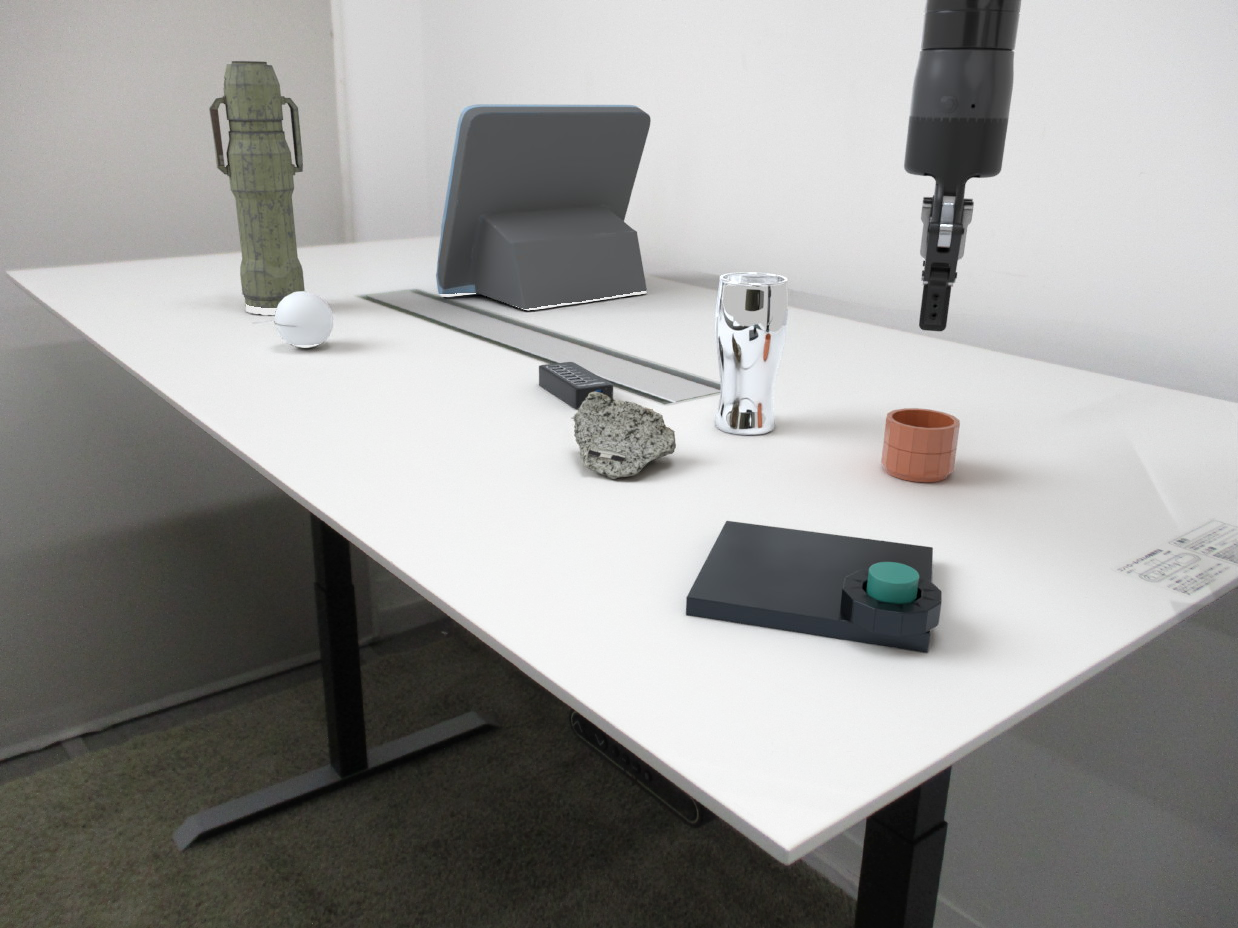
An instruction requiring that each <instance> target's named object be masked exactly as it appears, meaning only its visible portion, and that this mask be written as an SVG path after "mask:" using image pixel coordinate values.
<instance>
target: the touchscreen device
mask: <svg viewBox="0 0 1238 928" xmlns="http://www.w3.org/2000/svg"><path fill="white" fill-rule="evenodd" d="M651 122H652V121H651V116H650V114H649V113H647V112H646V111H644V110H643V109H641V108H640V107H639V106H637V105H634V104H633V105H632V104H522V103H521V104H520V103H519V104H517V103H516V104H511V103H509V104H507V103H506V104H502V103H501V104H498V103H497V104H496V103H495V104H494V103H493V104H492V103H491V104H490V103H489V104H482V103H481V104H480V103H479V104H471V105H468V106H466V107H465V108H463V109H462V111H461V112H460V114H459V117H458V121H457V126H456V131H455V139H454V144H453V151H452V157H451V163H450V170H449V175H448V183H447V188H446V195H445V201H444V207H443V213H442V220H441V226H440V238H439V245H438V252H437V261H436V262H437V264H436V274H435V279H436V289H437V292H438V293H437V294H438V295H439V294H455V293H456V294H457V293H476V294H477V295H481V296H484V297H486V296H487V298H489V297H490V299H492V300H495V301H497V300H499V301H498V302H500V301H501V302H500V303H503V302H504V303H503V304H505V303H508V304H510V305H509V306H511V305H514V306H517V307H519V308H523V309H529V308H537V307H541V306H548V305H557V304H561V303H572V302H582V301H586V300H593V299H600V298H604V297H612V296H616V295H623V294H630V293H633V292H641V291H646V290H647V291H648V289H647V283H646V277H645V271H644V266H643V265H644V264H643V259H642V254H641V248H640V242H639V236H638V231H637V230H635V229H634V228H632V227H631V226H630V225H629V224H628V223H626V222H625V219H626V216H627V211H628V208H629V204H630V200H631V197H632V193H633V188H634V185H635V182H636V178H637V175H638V171H639V168H640V164H641V161H642V156H643V153H644V150H645V146H646V143H647V139H648V134H649V131H650V127H651ZM508 304H507V305H508ZM519 308H518V309H519Z"/></svg>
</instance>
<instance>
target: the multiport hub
mask: <svg viewBox="0 0 1238 928" xmlns="http://www.w3.org/2000/svg"><path fill="white" fill-rule="evenodd" d="M538 386H540V387H541V388H543V389H544V390H546V391H547V392H549V393H550V394H551V395H553V396H554V397H556V398H557V399H558V400H561V401H562V402H564V403H565V404H567V405H569V406H570V407H571V408H573V409H574V410H577V409H578V408H579V407H581V405H582V402H583V401H585V400H586V399H585V398H586V397H588V395H589V393H591V392H599V393H602V394H605V395H608V397H609V398H611V399H613V400H614V384H613V383H611V382H610V381H608V380H606V379H604V378H603V377H600V376H599V375H597V374H595V373H594V372H592V371H590V370H588V369H587V368H585V367H583V366H581V365H580V364H578V363H576V362H574V361H565V362H564V361H563V362H556V363H546V364H540V365H538ZM612 393H613V394H612ZM611 396H612V397H611Z"/></svg>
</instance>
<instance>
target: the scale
mask: <svg viewBox="0 0 1238 928" xmlns="http://www.w3.org/2000/svg"><path fill="white" fill-rule="evenodd" d="M933 555H934V548H933V547H932V546H926V545H918V544H911V543H910V544H909V543H902V542H895V541H888V540H880V539H871V538H864V537H856V536H847V535H842V534H841V535H840V534H833V533H825V532H819V531H810V530H802V529H795V528H788V527H787V528H786V527H780V526H771V525H765V524H756V523H747V522H741V521H733V520H732V521H731V520H726V521H725V522H724V525H723V527H722V528H721V529H720V532H719V534H718V536H717V537H716V540H715V542H714V544H713V546H712V547H711V549H710V551H709V554H708V556H707V557H706V559H705V561H704V563H703V565H702V567H701V569H700V571H699V572H698V575H697V576H696V578H695V580H694V582H693V584H692V586H691V588H690V590H689V592H688V593H687V596H686V598H685V599H686V601H685V616H688V617H693V618H694V617H695V618H700V619H705V620H706V619H707V620H713V621H720V622H727V623H733V624H738V625H744V626H745V625H746V626H751V627H758V628H765V629H770V630H778V631H783V632H790V633H796V634H803V635H807V636H808V635H809V636H814V637H815V636H817V637H822V638H828V639H833V640H841V641H847V642H854V643H860V644H867V645H873V646H880V647H885V648H892V649H898V650H903V651H904V650H905V651H909V652H911V651H912V652H918V653H923V654H928V653H929V647H930V641H931V640H930V639H931V631H932V630H933V629H935V628H936V627H938V626H939V623H940V617H941V610H942V604H943V603H942V602H943V601H942V600H943V598H942V595H943V594H942V590H941V589H940V588H939V587H938V586H936V584H934V583H933V563H934V562H933V561H934V560H933V559H934V558H933V557H934V556H933ZM880 562H895V563H901V564H904V565H907V566H910V567H912V568H913V569H915V570H916V571H917V572H918V574H919V582H918V590H917V597H916V600H915V601H914V602H912V603H902V604H897V603H890V602H884V601H880V600H877V599H875V598H872V597H870V596H869V595H868V594H867V582H868V573H869V568H870V567H871V566H872V565H873V564H876V563H880Z"/></svg>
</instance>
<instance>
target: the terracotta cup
mask: <svg viewBox="0 0 1238 928" xmlns="http://www.w3.org/2000/svg"><path fill="white" fill-rule="evenodd" d="M884 425H885V426H884V436H883V444H882V453H881V461H880V462H881V465H882V466H883V467H884V468H885V471H886V473H888V475H890V476H892V477H894V478H897V479H900V480H903V481H907V482H914V483H936V482H940V481H944V480H945V479H947V478H948V476H949V475H950V474H951V473H953V472H954V470H955V463H956V455H957V447H958V440H959V435H960V434H959V433H960V426H961V421H960V419H958V418H957V417H956V416H954V415H953V414H950V413H946V412H943V411H940V410H936V409H935V410H934V409H928V408H917V407H912V408H909V407H907V408H898V409H893V410H891V411H889V412H887V413H886V417H885V424H884Z"/></svg>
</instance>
